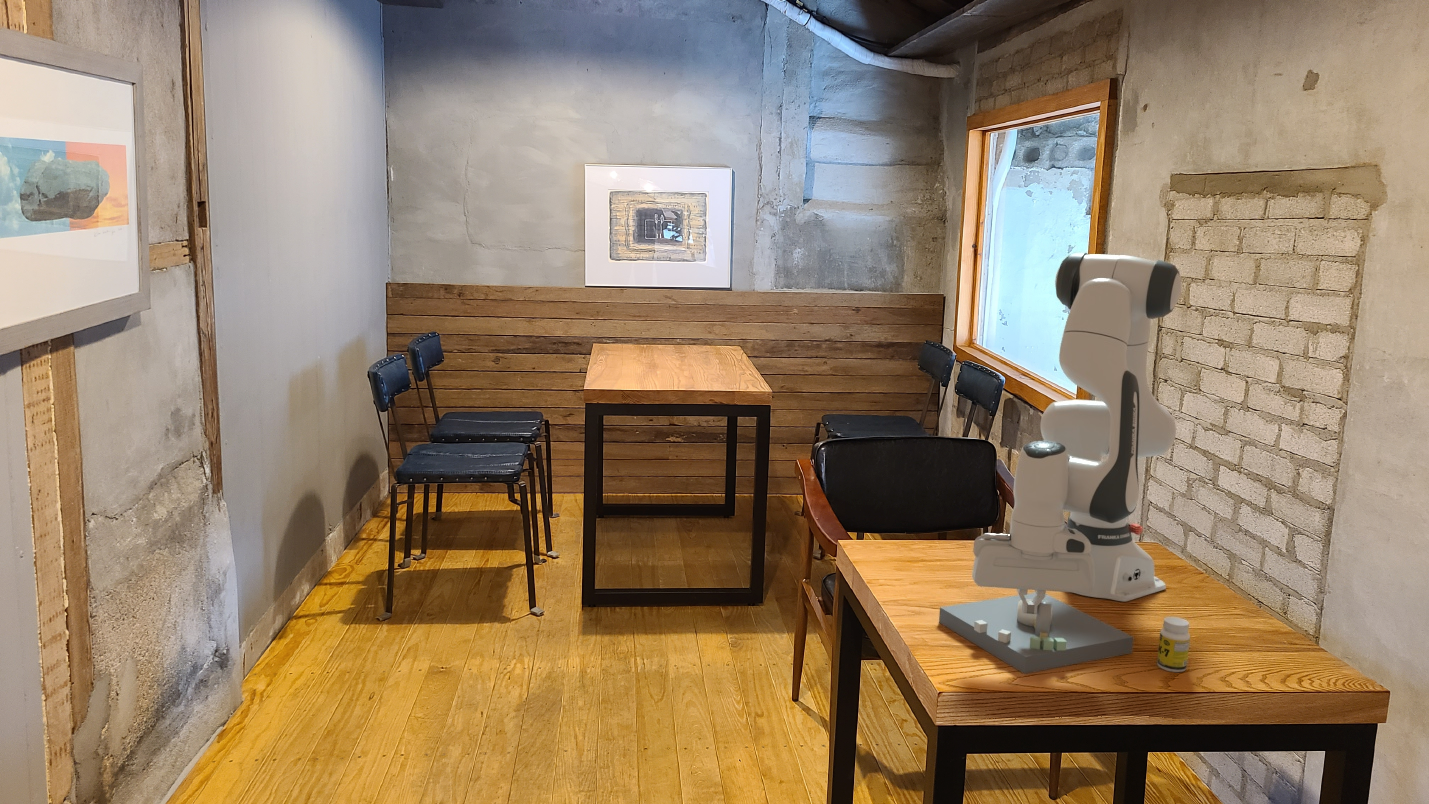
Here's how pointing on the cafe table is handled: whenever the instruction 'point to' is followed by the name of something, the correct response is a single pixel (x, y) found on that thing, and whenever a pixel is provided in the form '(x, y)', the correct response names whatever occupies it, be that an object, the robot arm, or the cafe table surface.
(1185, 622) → the supplement bottle
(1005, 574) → the robot arm
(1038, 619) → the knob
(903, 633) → the cafe table surface
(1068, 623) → the dial plate
